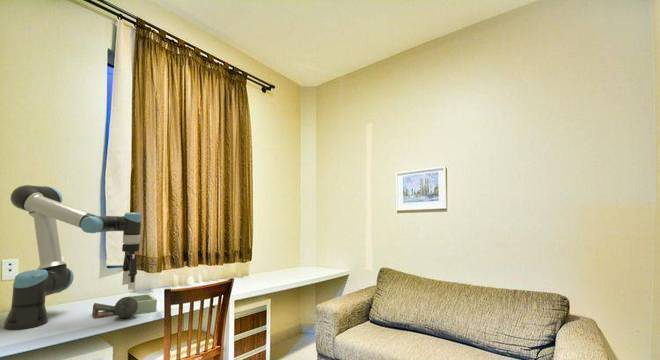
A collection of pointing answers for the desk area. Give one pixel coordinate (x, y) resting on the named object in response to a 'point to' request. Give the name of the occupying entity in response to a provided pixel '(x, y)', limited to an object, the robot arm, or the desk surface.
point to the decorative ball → (126, 307)
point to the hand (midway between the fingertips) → (128, 286)
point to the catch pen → (145, 303)
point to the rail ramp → (106, 309)
